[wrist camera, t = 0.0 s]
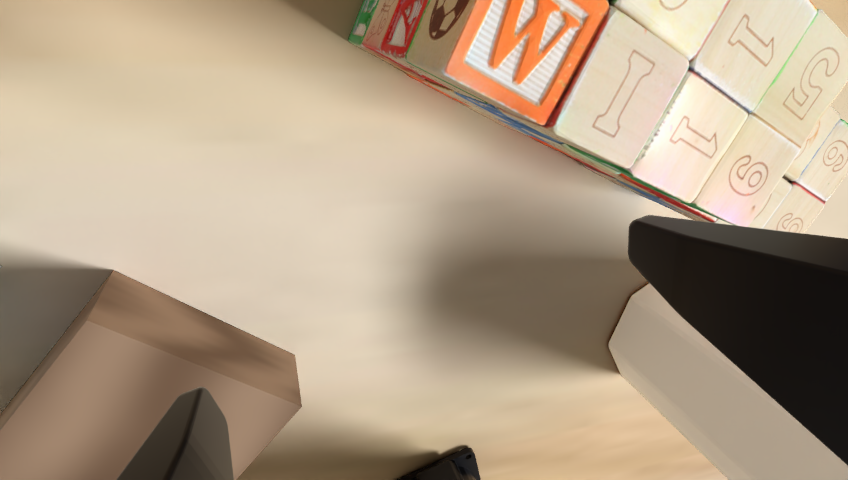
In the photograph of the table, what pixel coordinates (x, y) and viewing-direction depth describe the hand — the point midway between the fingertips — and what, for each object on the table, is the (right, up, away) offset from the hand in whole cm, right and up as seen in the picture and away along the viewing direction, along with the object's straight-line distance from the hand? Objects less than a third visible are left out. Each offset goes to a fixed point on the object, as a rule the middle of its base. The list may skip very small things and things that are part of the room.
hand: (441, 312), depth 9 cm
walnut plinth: (-14, -6, +15) cm, 22 cm away
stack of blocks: (+6, +10, +15) cm, 19 cm away
